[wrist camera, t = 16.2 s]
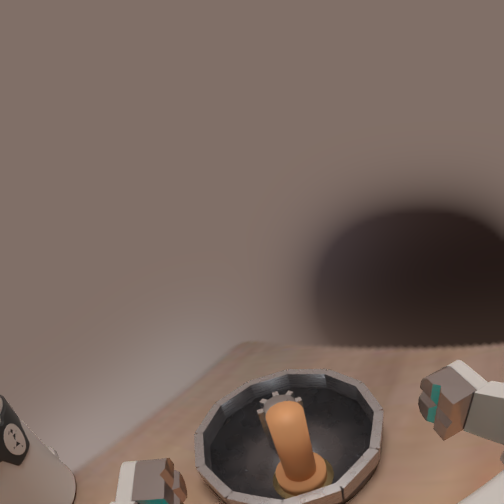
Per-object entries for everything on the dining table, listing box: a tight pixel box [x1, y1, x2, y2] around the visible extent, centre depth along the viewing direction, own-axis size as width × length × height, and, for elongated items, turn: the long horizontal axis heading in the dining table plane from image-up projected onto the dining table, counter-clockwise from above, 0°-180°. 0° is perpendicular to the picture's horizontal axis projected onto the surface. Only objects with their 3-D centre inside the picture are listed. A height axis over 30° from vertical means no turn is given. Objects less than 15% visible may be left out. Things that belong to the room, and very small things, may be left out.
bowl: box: [194, 369, 383, 504], centre depth 30 cm, size 20×20×8 cm
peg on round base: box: [266, 401, 327, 496], centre depth 24 cm, size 5×5×10 cm
